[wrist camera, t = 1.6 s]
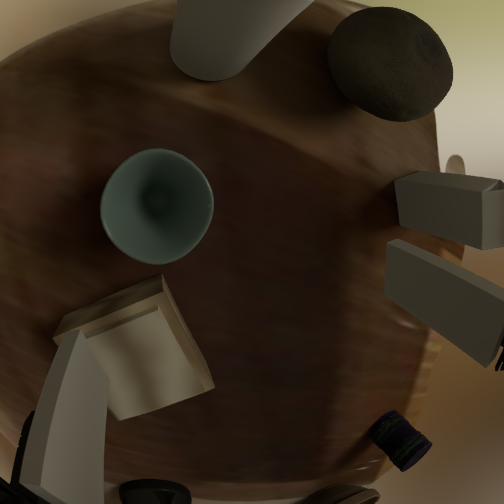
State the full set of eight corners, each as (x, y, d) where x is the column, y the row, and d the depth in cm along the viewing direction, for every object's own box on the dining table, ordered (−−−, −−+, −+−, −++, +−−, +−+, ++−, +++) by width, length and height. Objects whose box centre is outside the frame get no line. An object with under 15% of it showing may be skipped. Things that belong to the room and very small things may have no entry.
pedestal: (119, 394, 30) (118, 427, 25) (64, 315, 26) (49, 343, 20) (206, 362, 33) (217, 393, 28) (161, 273, 29) (163, 296, 23)
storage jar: (360, 438, 53) (394, 475, 40) (384, 409, 53) (423, 445, 39) (380, 435, 57) (411, 468, 44) (402, 409, 57) (437, 440, 43)
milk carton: (398, 225, 38) (507, 259, 21) (392, 180, 36) (510, 197, 18) (424, 212, 40) (522, 237, 22) (419, 170, 37) (524, 183, 20)
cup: (104, 206, 25) (78, 221, 16) (152, 143, 25) (149, 125, 16) (163, 250, 28) (168, 286, 19) (210, 190, 28) (237, 197, 19)
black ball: (285, 33, 26) (362, -26, 12) (366, 34, 28) (443, 4, 15) (322, 136, 30) (423, 123, 17) (396, 120, 33) (482, 113, 20)
